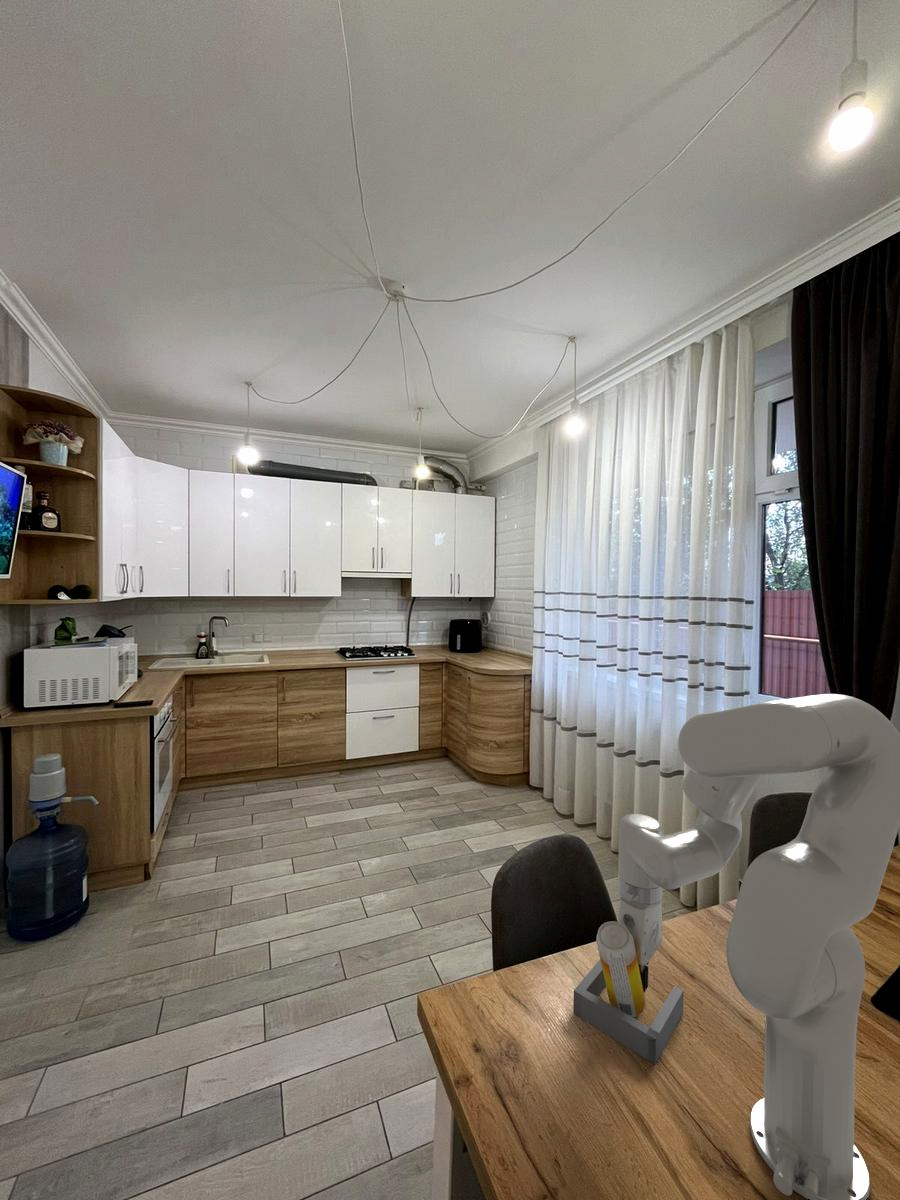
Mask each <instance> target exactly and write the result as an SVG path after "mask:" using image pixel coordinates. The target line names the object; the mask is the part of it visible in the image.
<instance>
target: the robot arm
mask: <svg viewBox="0 0 900 1200" xmlns="http://www.w3.org/2000/svg"><path fill="white" fill-rule="evenodd" d="M677 741H678V744H677V745H678V751H679V754H680V756H681V759H682V761H683V763H685V765H686V766H687V767H688V768H689V770H688V771H687V773H686V776H685V777H684V780H683V782H682V788H683V792H684V795H685V797H686V798H687V800H688V801H689V802H690V803H691V805H692V806H693V807H695V808H696V809H697V810H699V813H698V815H697V817H696V819H695V821H694V823H693V824H692V826H691V827H690V828H687V829H685V830H681V831H678V832H674V833H673V832H672V833H670V834H664V828H663V825H662V824H661V823H660V821H658V820H657V819H655V818H654V817H652V816H649V815H647V814H641V813H629V814H626V815H623V816H622V818H621V819H620V822H619V825H618V826H619V827H618V828H619V829H618V834H619V835H618V862H617V863H618V873H617V892H618V893H617V894H618V895H619V896H620V901H619V902H620V904H619V910H618V911H619V912H618V918H617V919H618V921H617V922H619V923H621V924H623V925H624V926H625V927H626V928H627V929H628V931H629V932H630V933H631V935H632V937H633V940H634V945H635V951H636V956H637V961H638V966H639V971H640V976H641V981H642V987H643V992H644V993H646V991H647V989H648V987H649V966H648V965H649V963H650V960H651V959H652V957H653V956H654V955H655V954H656V952H657V950H659V949H658V948H659V947H660V946H661V943H662V941H663V907H662V902H663V890H664V889H665V890H676V889H678V888H682V887H685V886H687V885H690V884H692V883H695V882H698V881H700V880H705V879H707V878H710V877H713V876H715V875H717V874H718V873H719V872H721V871H722V870H723V869H724V868H725V866H726V865H727V863H728V862H729V861H730V860H731V857H732V856H733V855H734V853H735V851H736V850H737V848H738V846H739V845H740V843H741V839H742V837H743V820H742V815H741V813H742V811H743V810H744V807H745V806H746V804H747V802H748V801H749V800H750V799H749V798H750V797H751V795H752V794H753V792H754V791H755V788H756V787H757V785H758V784H759V782H760V780H761V779H762V777H763V776H775V775H789V774H799V773H803V772H805V773H806V772H810V771H814V770H816V769H822V768H825V770H824V773H823V774H822V777H821V778H820V780H819V782H818V783H817V785H816V787H815V788H814V789H813V792H812V794H811V796H810V798H809V801H808V804H807V809H806V813H805V816H804V818H803V822H802V825H801V828H800V830H799V832H798V834H797V835H796V837H795V838H794V839H792V840H791V841H789V842H787V843H786V844H783V845H780V846H777V847H774V848H771V849H770V850H767V851H765V852H762V853H761V854H760V855H758V856H756V857H755V858H754V860H753V861H752V862H751V863H750V864H749V866H748V867H747V870H746V871H745V873H744V875H743V877H742V880H741V885H740V888H739V892H738V896H737V898H736V902H735V906H734V910H733V913H732V914H733V915H732V918H731V921H730V925H729V929H728V933H727V937H726V945H725V948H726V949H725V950H726V951H725V953H726V954H725V955H726V962H727V967H728V970H729V974H730V976H731V978H732V981H733V983H734V985H735V987H736V988H737V990H738V992H739V993H740V994H741V996H742V997H743V998H744V999H745V1001H747V1003H748V1004H749V1005H750V1006H751V1007H753V1008H754V1009H755V1010H756V1011H758V1012H760V1013H762V1014H764V1015H765V1016H764V1017H765V1018H764V1066H763V1067H764V1069H763V1070H764V1071H763V1072H764V1073H763V1082H764V1083H763V1098H761V1099H759V1100H757V1101H756V1102H755V1104H754V1105H753V1107H752V1109H751V1111H750V1114H749V1115H750V1117H749V1122H750V1124H749V1125H750V1134H751V1138H752V1140H753V1143H754V1145H755V1147H756V1149H757V1151H758V1153H759V1154H760V1156H761V1158H762V1159H763V1160H764V1162H765V1163H766V1165H767V1166H768V1167H769V1168H770V1170H771V1171H772V1172H773V1178H772V1179H773V1180H772V1181H773V1183H774V1185H775V1187H776V1188H777V1190H778V1191H779V1192H780V1193H782V1194H783V1195H785V1196H788V1197H789V1196H792V1194H793V1191H795V1193H797V1194H799V1195H800V1196H802V1197H804V1198H805V1199H807V1200H808V1199H810V1200H866V1199H867V1198H868V1199H869V1197H870V1191H871V1190H870V1188H871V1183H870V1182H871V1181H870V1180H871V1179H870V1174H869V1170H868V1166H867V1163H866V1162H865V1160H864V1158H863V1156H862V1153H861V1152H860V1151H859V1149H858V1148H857V1147H856V1145H855V1106H856V1105H855V1104H856V1100H855V1098H856V1097H855V1095H856V1094H855V1093H856V1058H857V1057H856V1056H857V1031H858V1018H859V1017H858V1016H859V1010H860V1005H861V1000H862V995H863V991H864V986H865V980H866V979H865V978H866V962H865V957H864V952H863V948H862V946H861V943H860V941H859V939H858V937H857V935H856V934H855V932H854V931H853V930H852V928H851V926H853V925H856V924H857V923H859V922H861V921H862V920H864V919H865V918H867V917H868V916H869V915H870V914H871V913H872V912H873V910H874V909H875V908H874V907H875V906H876V903H877V900H878V897H879V895H880V894H879V893H880V890H881V886H882V884H883V882H884V881H883V880H884V877H885V874H886V871H887V868H888V864H889V862H890V858H891V855H892V852H893V850H894V845H895V842H896V838H897V835H898V832H899V829H900V732H899V731H898V729H897V728H896V727H895V725H894V724H893V722H891V721H890V720H889V718H887V717H886V716H885V715H884V713H882V712H881V711H880V710H879V709H877V708H876V707H875V706H873V705H871V704H870V703H868V702H865V701H864V700H862V699H859V698H856V697H855V696H849V695H846V694H841V693H840V694H837V693H822V694H811V695H806V696H799V697H792V698H791V697H790V698H783V699H777V700H776V699H775V700H771V701H770V700H768V701H764V702H760V703H755V704H750V705H746V706H740V707H735V708H730V709H726V710H721V711H719V710H718V711H712V712H706V713H699V714H696V715H694V716H692V717H690V718H689V719H688V720H687V721H686V722H685V723H684V724H683V725H682V728H681V729H680V732H679V735H678V740H677ZM868 1199H867V1200H868Z"/></svg>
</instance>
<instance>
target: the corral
mask: <svg viewBox="0 0 900 1200" xmlns="http://www.w3.org/2000/svg"><path fill="white" fill-rule="evenodd" d="M605 988H606V983H605V978H604V974H603V969H602V964H601V960H600V959H599V960H598V961H597V962H596V963H595V965H593V967H592V968H591V969H590V970H589V971H588V973H587V974H586V975H585V976H584V977H583V979H582V980H581V981H580V982H579V983H578V984H577V986H576V987H575V988H574V990H573V1010H572V1011H573V1014H574V1015H576V1016H577V1017H579V1018H581V1019H582V1020H583V1021H585V1022H587V1023H588V1024H590V1025H591V1026H593V1027H594V1028H596V1029H598V1030H599V1031H601V1032H602V1033H604V1034H605V1035H606V1036H608V1037H610V1038H611V1039H613V1040H615V1041H616V1042H618V1043H620V1044H621V1045H622V1046H625V1047H626V1048H628V1049H629V1050H631V1051H632V1052H634V1053H635V1054H637V1055H639V1056H640V1057H642V1058H643V1059H645V1060H646V1061H649V1062H650V1063H652V1064H653V1065H655V1066H656V1065H657V1063H658V1061H659V1060H660V1057H661V1056H662V1054H663V1051H664V1050H665V1049H666V1046H667V1045H668V1042H669V1041H670V1039H671V1037H672V1035H673V1033H674V1031H675V1029H676V1027H677V1026H678V1024H679V1022H680V1020H681V1018H682V1016H683V1014H684V989H683V988H680V987H677V986H676V985H674V986H673V988H672V989H671V991H670V992H669V994H668V996H667V997H666V999H665V1001H664V1003H663V1005H662V1006H661V1007H660V1009H659V1011H658V1013H657V1014H656V1016H655V1018H654V1020H653V1021H652V1023H651V1024H650V1026H648V1025H646V1024H644V1023H643V1022H641V1021H639V1020H638V1019H636V1018H635V1017H631V1016H629V1015H627V1014H626V1013H624V1012H622V1011H621V1010H619V1009H617V1008H616V1007H614V1006H612V1005H611V1004H610V1002H609V1003H608V1002H607V1001H605V1000H604V999H601V998H600V997H599V996H600V995H601V993H602V992H603V990H605Z"/></svg>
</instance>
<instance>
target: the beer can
mask: <svg viewBox="0 0 900 1200" xmlns="http://www.w3.org/2000/svg"><path fill="white" fill-rule="evenodd" d="M596 945H597V949H598V955H599V960H601V964H602V969H603V974H604V978H605V983H606V987H605V988H606V991H607V996H608V1001H609V1004H610V1005H612V1006H614V1007H616V1008H617V1009H619V1010H621V1011H622V1012H624V1013H626V1014H627V1015H629V1016H631V1017H633V1018H636V1017H637V1016H640V1014H642V1013H643V1011H644V1009H645V1008H646V1007H645V1006H646V996H645V992H643V987H642V981H641V976H640V971H639V966H638V961H637V956H636V951H635V945H634V940H633V937H632V935H631V933H630V932H629V931H628V929H627V928H626V927H625V926H624V925H623V924H621V923H619V922H618V921H615V920H612V921H606V922H603V923H602V924H601V925H600V927H598V930H597V934H596Z"/></svg>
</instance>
